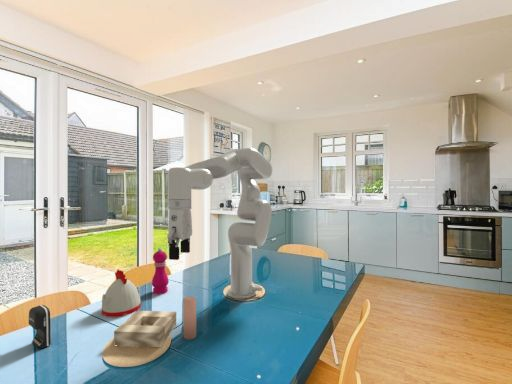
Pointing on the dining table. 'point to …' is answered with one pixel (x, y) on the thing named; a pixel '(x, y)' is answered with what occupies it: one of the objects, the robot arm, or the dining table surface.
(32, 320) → the black coffee maker
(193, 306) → the peg
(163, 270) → the pepper mill
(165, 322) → the socket block
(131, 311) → the white dome
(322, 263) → the dining table surface
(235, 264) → the robot arm
